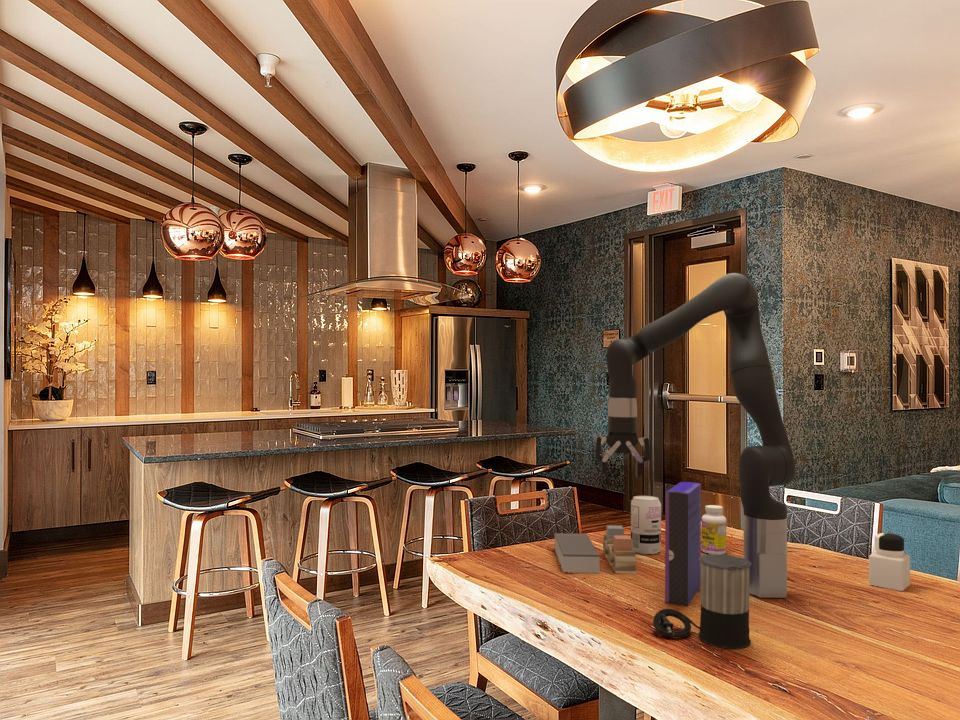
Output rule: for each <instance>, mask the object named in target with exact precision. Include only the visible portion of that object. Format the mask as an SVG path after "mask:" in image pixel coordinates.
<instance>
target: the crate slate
mask: <svg viewBox="0 0 960 720" xmlns="http://www.w3.org/2000/svg"><path fill="white" fill-rule="evenodd" d="M606 534H607V539H613V535H625V528H624V527H623V526H622V525H606Z"/></svg>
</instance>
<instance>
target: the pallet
mask: <svg viewBox="0 0 960 720" xmlns="http://www.w3.org/2000/svg"><path fill="white" fill-rule="evenodd" d="M602 536H603V537H602V538H603V539H602V540H603V541H602V542H603V543H602V544H603V545H602V546H603V547H602V548H603V551H602V552H603V553H604V554H603V555H605V556H604V557H605V558H607V559H606V560H607V562H608V561H609V562H608V564H609V563H610V564H609V565H610V567H611V566H612V567H611V569H614V570H613V572H614V573H615V574H616V573H628V575H632V574H633V575H636V574H637V553H636V551H633V550H632V551H615V553H614V551H613V539H607V533H606V534H605V533H604V534H603V535H602Z"/></svg>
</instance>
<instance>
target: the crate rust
mask: <svg viewBox="0 0 960 720" xmlns="http://www.w3.org/2000/svg"><path fill="white" fill-rule="evenodd" d="M613 551H614V553H615V551H633V550H632V539H631V535H625V534H624V535H613Z"/></svg>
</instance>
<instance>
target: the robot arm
mask: <svg viewBox="0 0 960 720" xmlns="http://www.w3.org/2000/svg"><path fill="white" fill-rule="evenodd" d="M759 307H760V306H759V295H758V292H757V289H756V287H755V285H754V284H753V283H752V282H751V281H750V279H749V278H747V277H746V276H745V275H743V274H742V273H738V272H731V273H729V272H728V273H725V274H724V275H723V276H721V277H719V278H718V279H716V280H715V281H713V282H712V283H711V284H710V285H708V286H707V287H706V288H705V289H703V290H702V291H701V292H699V293H698V294H697V295H695V296H694V297H692V298H690V300H688V301H687V302H684V304H682V305H680V306H679V307H677V308H676V309H674V310H672V311H670V312H668V313H667V314H665V315H663V316H661V317H660V318H657V319H656V320H654V321H652V322H650V323H648V324H646V325H645V326H643V327H642V328H640V330H639V332H636V333H635V334H633V335H632V336H630V337H628V338H626V339H624V338H617V339H614V340H612V341H611V342H610V343H609V345H608V346H607V349H606V368H607V373H608V378H609V389H608V390H609V392H608V393H609V394H608V395H609V396H608V397H609V398H608V404H607V436H606V437H604V436H600V435H597V436H595V438H594V439H595V440H594V441H595V443H594V453H593V456H594V459H596V460H598V461H600V472H601V474H602V475H603V477H607V476H608V462H607V461H608V459H609V458H610V457H612V455H613V454H617V455H618V454H625V455H628V454H632V456H633V457H634V458H635V460H636V461H635V478H640V477H641V476H642V475H643V464H644V462H646V461H647V462H648V461H650V460H651V453H650V439H649V438H648V437H646V436H644V437H638V433H637V432H638V429H637V428H638V404H637V403H638V402H637V380H636V377H635V376H634V374H633V373H634V371H633V365H634V364H635V365H636V364H637V363H638V362H640V361H643V359H645V358H646V357H648V356H649V355H651V354H652V353H653V352H656V351H659V350H661V349H662V348H664V347H666V346H668V345H670V344H673V343H674V342H675V341H677V340H679V339H681V338H682V337H684V336H685V334H687V333H688V332H689V331H690V330H691V329H693V328H694V327H695V326H696V325H697V324H698V323H701V322H702V321H703V320H705V319H707V318H709V317H711V316H712V315H715V314H718V313H720V312H723V313H724V315H725V319H726V322H727V326H728V330H729V334H730V351H729V372H730V377H731V382H732V383H731V384H732V388H733V393H734V395H735V397H736V399H737V401H738V402H739V403H740V405H741V407H743V409H744V410H745V411H746V413H747V414H748V415H749V416H750V418H751V419H752V420H753V421H754V423H755V425H756V427H757V429H758V431H759V435H760V437H761V442H762V445H749V446H747V447H745V448H744V449H743V450H742V452H741V454H740V458H739V462H738V477H739V491H740V493H739V494H740V502H741V505H742V509H743V559H746V560H748V561H750V563H751V566H750V567H749V595H753V596H757V598H768V599H771V598H773V599H775V598H779V599H780V598H781V599H787V598H788V596H787V595H788V508H787V506H786V504H785V503H784V502H783V503H782V502H780V501H777V500H775V499H773V497H772V496H771V492H770V487H777V486H779V487H781V486H786V485H789V484H790V483H791V482H792V481H793V479H794V478H795V474H796V463H795V457H794V454H793V451H792V447H791V444H790V440H789V437H788V434H787V432H786V428H785V426H784V422H783V421H784V420H783V418H782V414H781V409H780V405H779V400H778V396H777V392H776V385H775V379H774V375H773V374H774V373H773V370H772V365H771V360H770V357H769V353H768V350H767V346H766V345H767V344H766V342H765V339H764V337H763V333H762V328H761V327H762V326H761V316H760V308H759ZM605 442H606V444H607V445H608V448H607V449H606V450H605V451H604V453H603V454H602V455H601V450H602V449H601V447H602V446H603V445H604V443H605ZM638 443H640V445H641V447H642V452H643V455H642V456H641V455H640V454H639V452H638V451H637V449H636V448H635V447H636V446H637V445H638Z"/></svg>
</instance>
